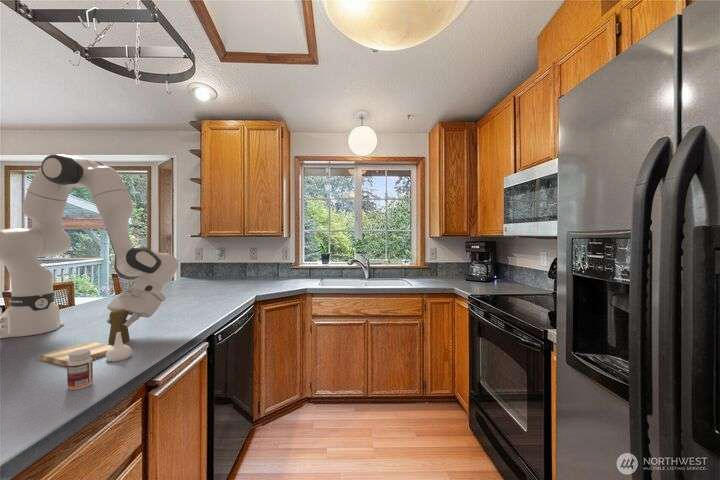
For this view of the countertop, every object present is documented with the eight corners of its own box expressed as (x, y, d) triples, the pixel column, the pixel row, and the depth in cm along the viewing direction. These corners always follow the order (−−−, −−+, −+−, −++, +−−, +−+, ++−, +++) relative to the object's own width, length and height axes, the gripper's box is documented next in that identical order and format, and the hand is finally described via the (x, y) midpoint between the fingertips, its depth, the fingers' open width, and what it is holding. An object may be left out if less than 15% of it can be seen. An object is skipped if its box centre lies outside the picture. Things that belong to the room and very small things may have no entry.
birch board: (40, 359, 97) (40, 354, 97) (90, 345, 109) (90, 341, 109) (68, 367, 91) (68, 361, 91) (118, 351, 103) (117, 346, 103)
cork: (118, 344, 110) (118, 312, 109) (103, 343, 111) (103, 311, 111) (134, 339, 116) (133, 308, 115) (119, 338, 117) (119, 307, 117)
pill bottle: (77, 381, 82) (76, 348, 82) (97, 381, 83) (97, 348, 83) (61, 390, 78) (61, 355, 78) (83, 390, 78) (82, 355, 78)
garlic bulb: (110, 357, 100) (106, 332, 99) (134, 353, 102) (131, 327, 102) (103, 365, 94) (99, 338, 94) (129, 360, 97) (126, 333, 96)
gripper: (120, 284, 123) (90, 316, 114) (157, 288, 116) (129, 322, 107) (132, 294, 127) (105, 326, 119) (169, 298, 120) (143, 332, 111)
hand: (117, 324), depth 113 cm, fingers open, 7 cm apart
